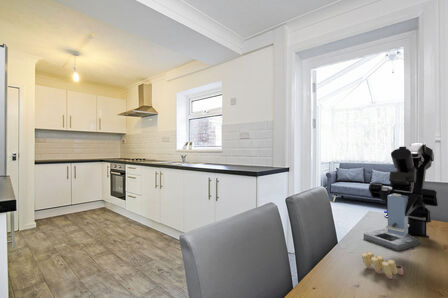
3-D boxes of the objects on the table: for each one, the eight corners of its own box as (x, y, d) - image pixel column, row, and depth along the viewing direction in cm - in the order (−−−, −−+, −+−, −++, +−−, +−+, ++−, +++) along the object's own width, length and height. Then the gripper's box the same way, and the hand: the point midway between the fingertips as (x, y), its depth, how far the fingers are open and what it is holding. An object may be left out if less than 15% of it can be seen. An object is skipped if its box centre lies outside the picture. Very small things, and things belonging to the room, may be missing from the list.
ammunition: (386, 264, 58) (404, 258, 62) (359, 252, 65) (377, 248, 68) (387, 282, 58) (405, 276, 61) (359, 269, 65) (377, 264, 68)
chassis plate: (384, 233, 94) (384, 228, 94) (418, 244, 83) (418, 238, 83) (363, 238, 88) (363, 233, 88) (398, 250, 77) (398, 245, 77)
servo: (393, 227, 80) (393, 191, 80) (409, 231, 77) (409, 193, 77) (384, 234, 73) (384, 195, 74) (401, 239, 70) (401, 197, 70)
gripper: (370, 162, 85) (359, 194, 78) (436, 164, 71) (431, 204, 64) (376, 181, 90) (367, 213, 83) (440, 186, 76) (435, 226, 69)
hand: (396, 213), depth 75 cm, fingers closed on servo, 4 cm apart
